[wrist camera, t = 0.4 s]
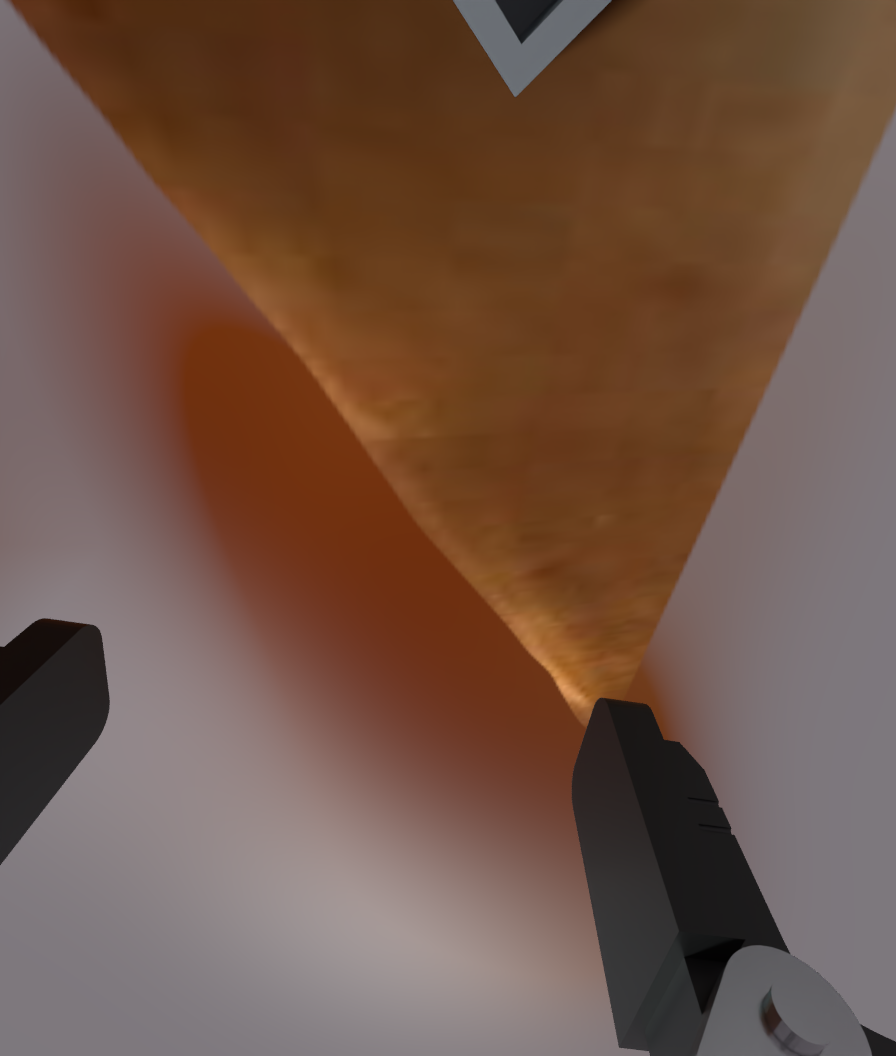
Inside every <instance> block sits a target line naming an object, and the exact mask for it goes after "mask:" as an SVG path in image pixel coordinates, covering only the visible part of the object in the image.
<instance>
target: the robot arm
mask: <svg viewBox="0 0 896 1056" xmlns="http://www.w3.org/2000/svg"><path fill="white" fill-rule="evenodd" d="M109 703H110V700H109V691H108V683H107V675H106V667H105V659H104V651H103V642H102V636H101V633H100V630H99V629H98V628H97V627H96V626H94V625H90V624H83V623H75V622H68V621H61V620H54V619H45V618H44V619H39V620H37V621H35V622H34V623H32V624H31V625H30V626H29V627H27V628H26V629H25V630H24V631H23V632H22V633H20V634H19V635H18V636H17V637H15V638H14V639H13V640H12V641H11V642H9V643H8V644H7V645H6V646H5V647H0V865H1V863H2V862H3V861H4V860H5V858H6V857H7V856H8V854H9V853H10V852H11V851H12V849H13V848H14V847H15V845H16V844H17V843H18V842H19V840H20V839H21V838H22V836H23V835H24V834H25V833H26V831H27V830H28V829H29V827H30V826H31V825H32V824H33V822H34V821H35V820H36V818H37V817H38V816H39V815H40V813H41V812H42V811H43V809H44V808H45V807H46V806H47V804H48V803H49V802H50V800H51V799H52V798H53V797H54V795H55V794H56V793H57V791H58V790H59V789H60V788H61V786H62V785H63V784H64V782H65V781H66V779H68V777H69V776H70V774H71V773H72V772H73V771H74V770H75V768H76V767H77V766H78V764H79V763H80V762H81V760H82V759H83V758H84V757H85V755H86V754H87V753H88V751H89V750H90V749H91V748H92V746H93V745H94V744H95V742H96V741H97V740H98V738H99V736H100V735H101V733H102V731H103V728H104V726H105V723H106V720H107V717H108V713H109V705H110V704H109ZM718 802H719V801H718V799H717V796H716V794H715V792H714V790H713V788H712V786H711V783H710V782H709V779H708V777H707V775H706V773H705V771H704V769H703V768H702V767H701V766H700V765H699V764H698V763H697V762H696V760H695V759H694V758H693V757H692V756H691V755H690V754H689V752H688V751H687V750H686V749H685V748H684V747H683V746H682V745H681V744H680V742H675V741H668V740H664V739H663V736H662V734H661V732H660V729H659V727H658V724H657V722H656V719H655V717H654V714H653V712H652V710H651V708H650V707H649V706H648V705H647V704H643V703H635V702H628V701H621V700H614V699H607V698H599V699H598V700H597V702H596V703H595V705H594V708H593V711H592V714H591V717H590V720H589V723H588V726H587V729H586V732H585V735H584V738H583V742H582V745H581V748H580V751H579V754H578V757H577V760H576V763H575V766H574V771H573V778H572V803H573V810H574V815H575V820H576V825H577V831H578V836H579V841H580V847H581V852H582V856H583V862H584V867H585V872H586V878H587V882H588V888H589V893H590V899H591V904H592V909H593V914H594V919H595V925H596V930H597V935H598V940H599V945H600V951H601V956H602V961H603V966H604V971H605V976H606V981H607V987H608V992H609V997H610V1003H611V1008H612V1013H613V1018H614V1023H615V1029H616V1034H617V1039H618V1044H619V1047H620V1048H627V1049H636V1050H644V1051H649V1053H650V1056H896V1042H895V1041H893V1040H891V1039H889V1038H886V1037H884V1036H882V1035H880V1034H878V1033H876V1032H874V1031H872V1030H870V1029H868V1028H866V1027H864V1026H863V1025H861V1024H860V1023H859V1022H858V1020H857V1018H856V1017H855V1015H854V1013H853V1012H852V1010H851V1009H850V1007H849V1006H848V1005H847V1003H846V1002H845V1001H844V1000H843V998H842V997H841V995H840V994H839V993H838V992H837V991H836V990H835V989H834V988H833V987H832V985H831V984H830V983H828V981H826V980H825V979H824V978H823V977H822V976H821V975H820V974H819V973H818V972H816V971H815V970H814V969H813V968H811V967H810V966H809V965H807V964H806V963H804V962H802V961H801V960H799V959H798V958H796V957H795V956H792V955H791V954H790V952H789V950H788V948H787V946H786V945H785V943H784V941H783V938H782V936H781V934H780V932H779V930H778V928H777V926H776V923H775V921H774V919H773V917H772V915H771V913H770V910H769V908H768V906H767V904H766V902H765V900H764V898H763V895H762V893H761V891H760V889H759V887H758V885H757V883H756V880H755V878H754V876H753V874H752V872H751V870H750V868H749V865H748V863H747V861H746V859H745V857H744V854H743V852H742V850H741V848H740V846H739V844H738V842H737V840H736V838H735V835H732V834H731V827H730V824H729V822H728V820H727V818H726V816H725V814H724V812H723V809H722V808H720V807H719V805H718Z"/></svg>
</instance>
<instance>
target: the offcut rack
mask: <svg viewBox="0 0 896 1056" xmlns="http://www.w3.org/2000/svg"><path fill="white" fill-rule="evenodd" d="M453 1H454V3H455V4H456V6H457V7H458V9H459V10H460V12H461V14H462V15H463V17H464V18H465V20H466V21H467V23H468V25H469V26H470V28H471V29H472V31H473V32H474V34H475V35H476V37H477V39H478V40H479V42H480V43H481V45H482V46H483V48H484V50H485V51H486V53H487V54H488V56H489V57H490V59H491V61H492V62H493V64H494V65H495V67H496V68H497V70H498V72H499V73H500V75H501V76H502V78H503V79H504V81H505V82H506V84H507V86H508V87H509V89H510V90H511V92H512V93H513V95H514V96H515V97H516V96H517V95H518V94H519V93H520V92H521V91H522V90H523V89H524V88H525V87H526V86H527V85H528V84H529V83H530V82H531V81H532V80H533V79H534V78H535V77H536V76H537V75H538V74H539V73H540V72H541V71H542V70H543V69H544V68H545V67H546V66H547V65H548V64H549V63H550V62H551V61H552V60H553V59H554V58H555V57H556V56H557V55H558V54H559V53H560V52H561V51H562V50H563V49H564V48H565V47H566V46H567V45H568V44H569V43H570V42H571V41H572V40H573V39H574V38H575V37H576V36H577V35H578V34H579V33H580V32H581V31H582V30H583V29H584V28H585V27H586V26H587V25H588V24H589V23H590V22H591V21H592V20H593V19H594V18H595V17H596V16H597V15H598V14H599V13H600V12H601V11H602V10H603V9H604V8H605V7H606V6H607V5H608V4H609V3H610V2H611V1H612V0H453Z"/></svg>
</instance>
